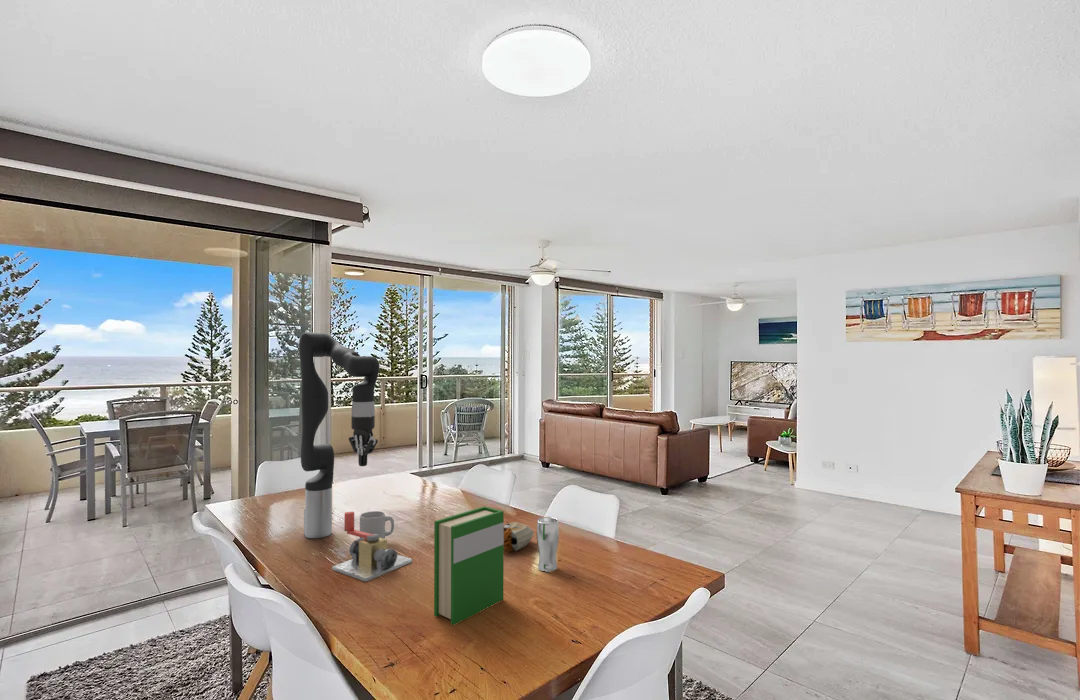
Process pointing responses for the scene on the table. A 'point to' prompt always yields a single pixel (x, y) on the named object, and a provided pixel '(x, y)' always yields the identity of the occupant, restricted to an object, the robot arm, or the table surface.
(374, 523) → the mug
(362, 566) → the valve body
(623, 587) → the table surface
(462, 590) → the hardback book
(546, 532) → the beer glass
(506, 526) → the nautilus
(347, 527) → the lever
